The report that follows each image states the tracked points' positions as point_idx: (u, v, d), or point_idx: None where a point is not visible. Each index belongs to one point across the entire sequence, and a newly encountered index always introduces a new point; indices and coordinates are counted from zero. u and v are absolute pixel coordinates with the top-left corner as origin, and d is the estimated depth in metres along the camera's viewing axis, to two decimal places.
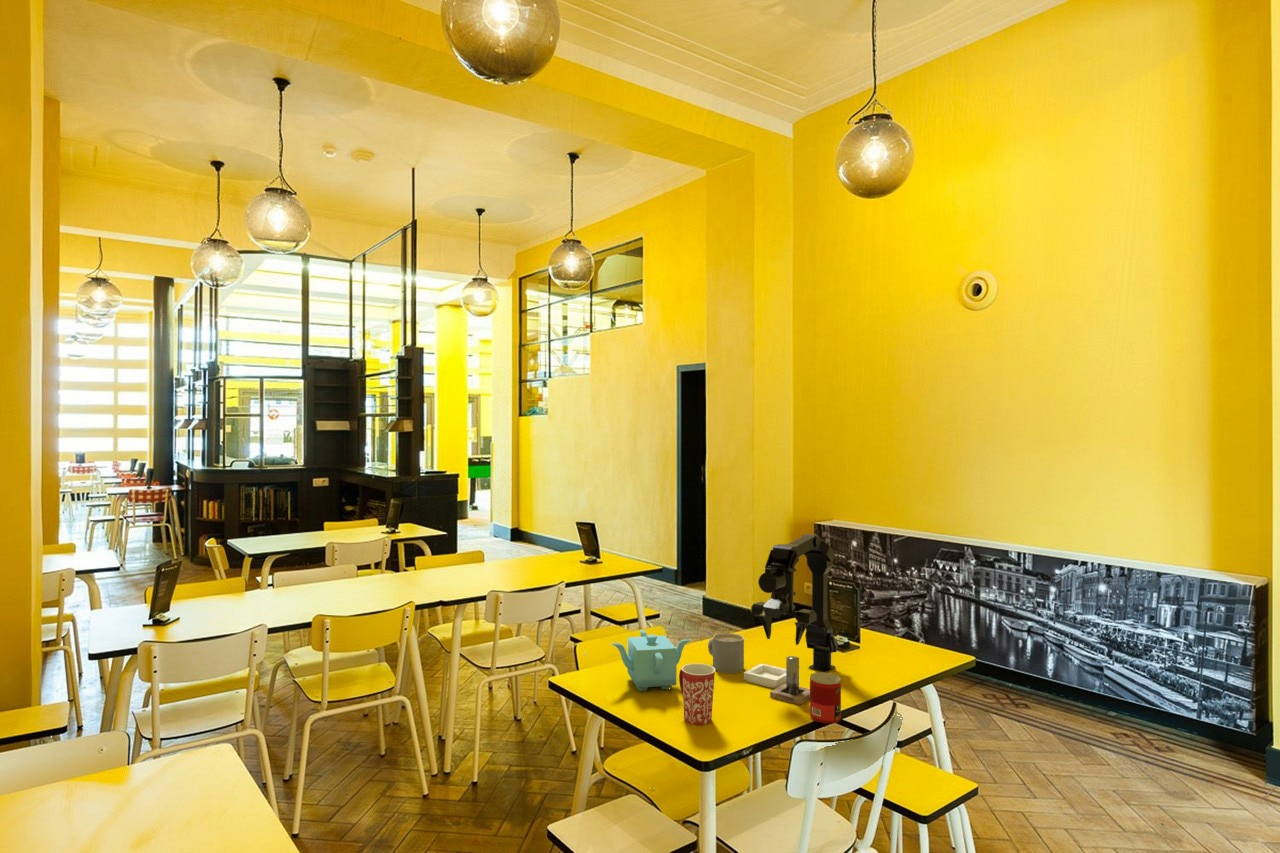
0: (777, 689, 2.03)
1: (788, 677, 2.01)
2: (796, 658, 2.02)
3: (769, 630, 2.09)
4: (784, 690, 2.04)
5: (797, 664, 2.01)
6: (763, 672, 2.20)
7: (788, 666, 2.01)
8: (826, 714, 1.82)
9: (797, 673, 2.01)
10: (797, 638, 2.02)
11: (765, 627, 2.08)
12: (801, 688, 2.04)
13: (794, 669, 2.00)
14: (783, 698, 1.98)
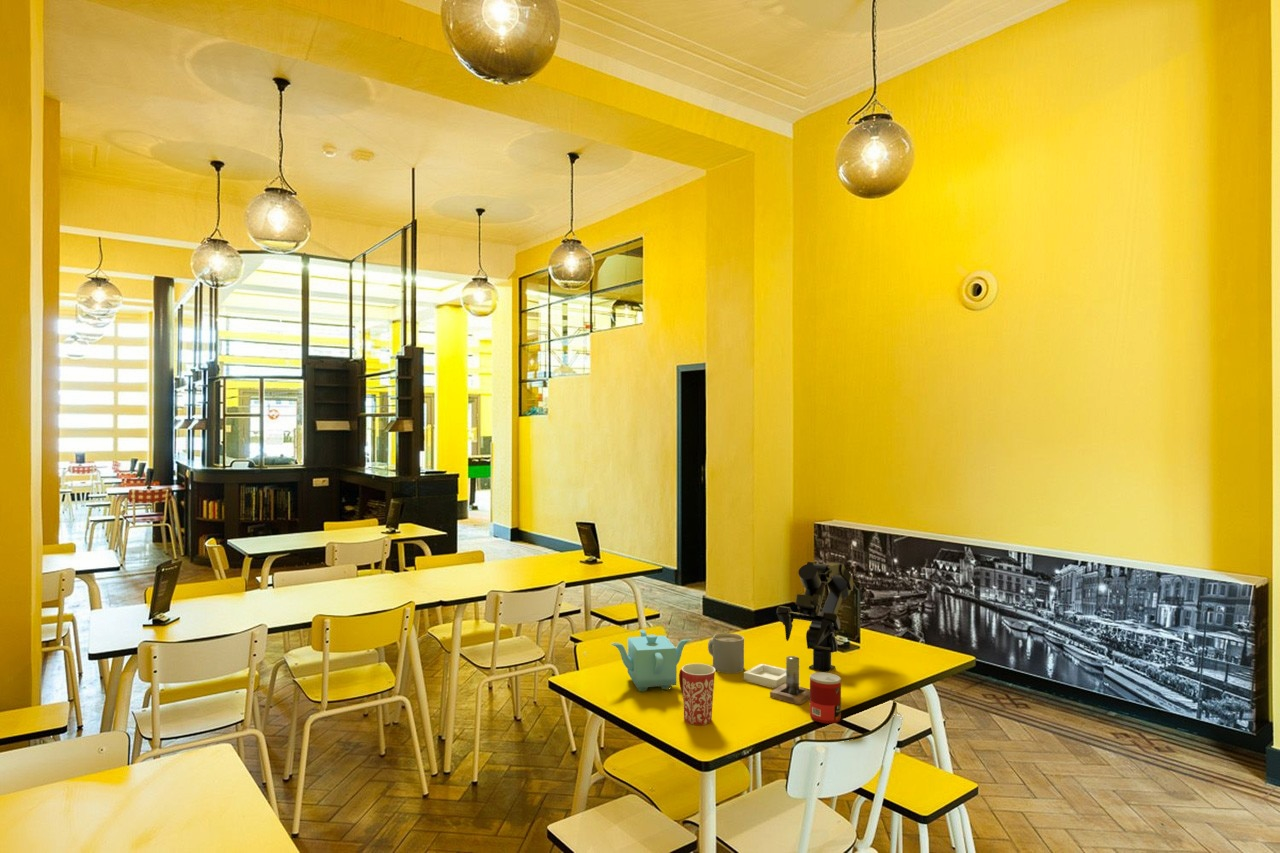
0: (777, 689, 2.03)
1: (788, 677, 2.01)
2: (796, 658, 2.02)
3: (789, 633, 2.13)
4: (784, 690, 2.04)
5: (797, 664, 2.01)
6: (763, 672, 2.20)
7: (788, 666, 2.01)
8: (826, 714, 1.82)
9: (797, 673, 2.01)
10: (819, 637, 2.07)
11: (787, 627, 2.13)
12: (801, 688, 2.04)
13: (794, 669, 2.00)
14: (783, 698, 1.98)
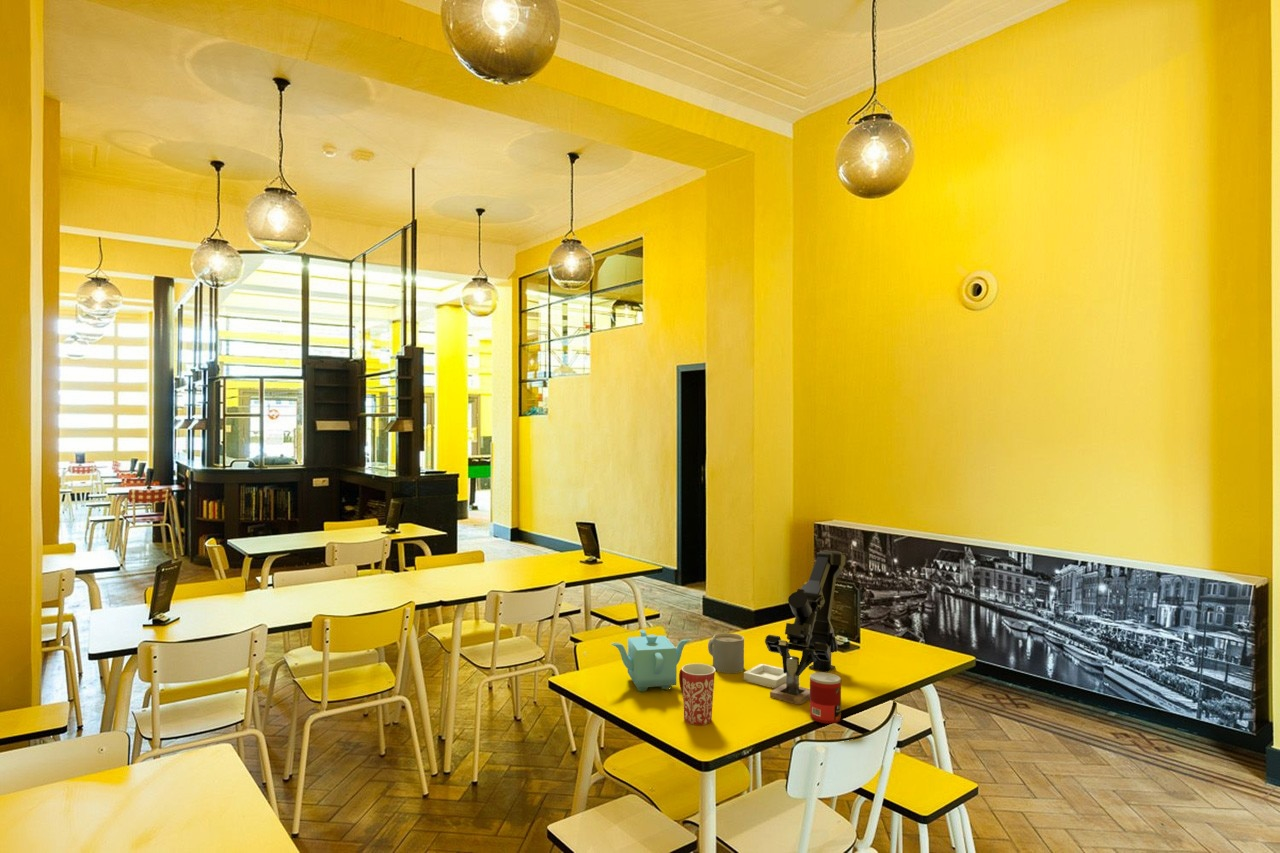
0: (777, 689, 2.03)
1: (788, 677, 2.01)
2: (796, 658, 2.02)
3: None
4: (784, 690, 2.04)
5: (797, 664, 2.01)
6: (763, 672, 2.20)
7: (788, 666, 2.01)
8: (826, 714, 1.82)
9: None
10: (800, 667, 2.00)
11: (784, 659, 2.03)
12: (801, 688, 2.04)
13: (794, 669, 2.00)
14: (783, 698, 1.98)
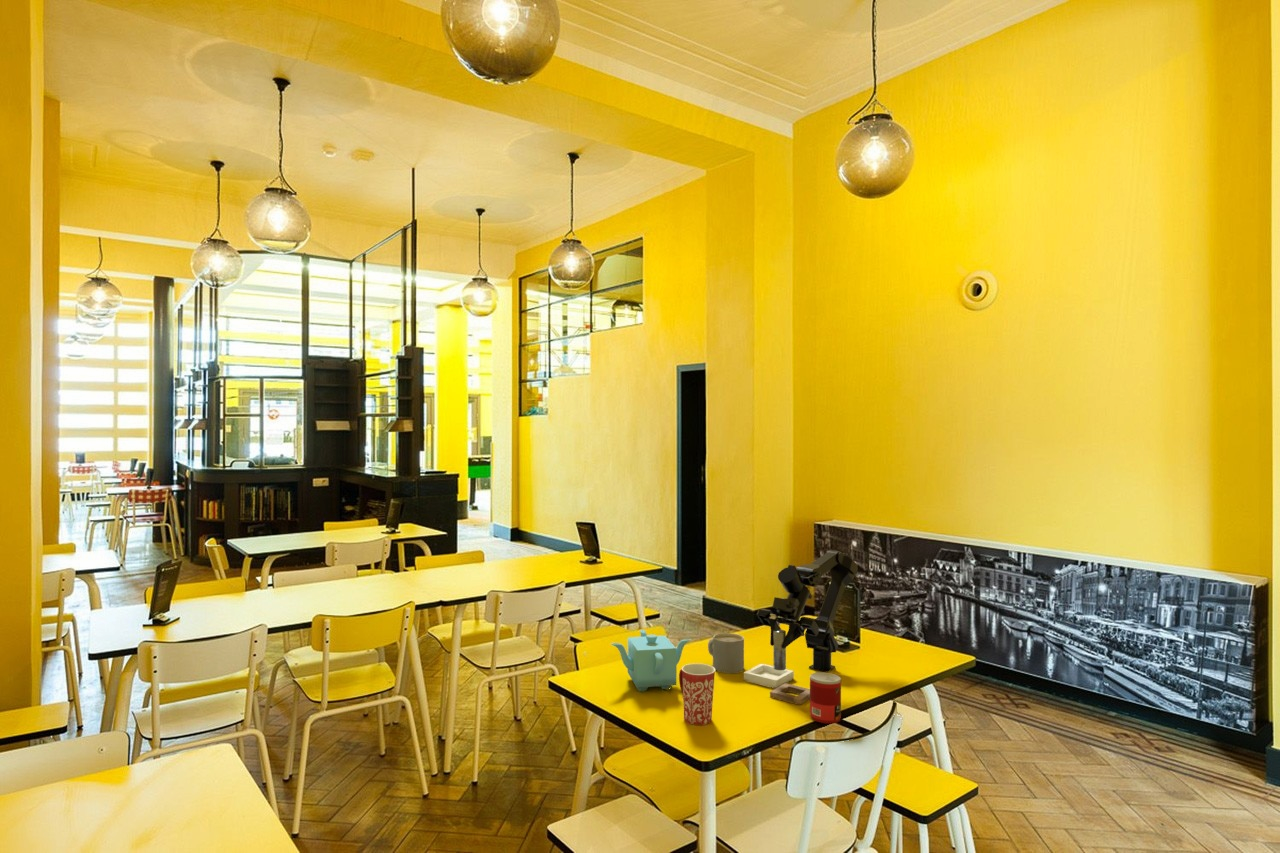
0: (777, 689, 2.03)
1: (774, 649, 2.07)
2: (783, 631, 2.07)
3: None
4: (784, 690, 2.04)
5: (783, 637, 2.06)
6: (763, 672, 2.20)
7: (774, 639, 2.07)
8: (826, 714, 1.82)
9: None
10: (785, 640, 2.06)
11: (772, 632, 2.10)
12: (801, 688, 2.04)
13: (780, 641, 2.06)
14: (783, 698, 1.98)
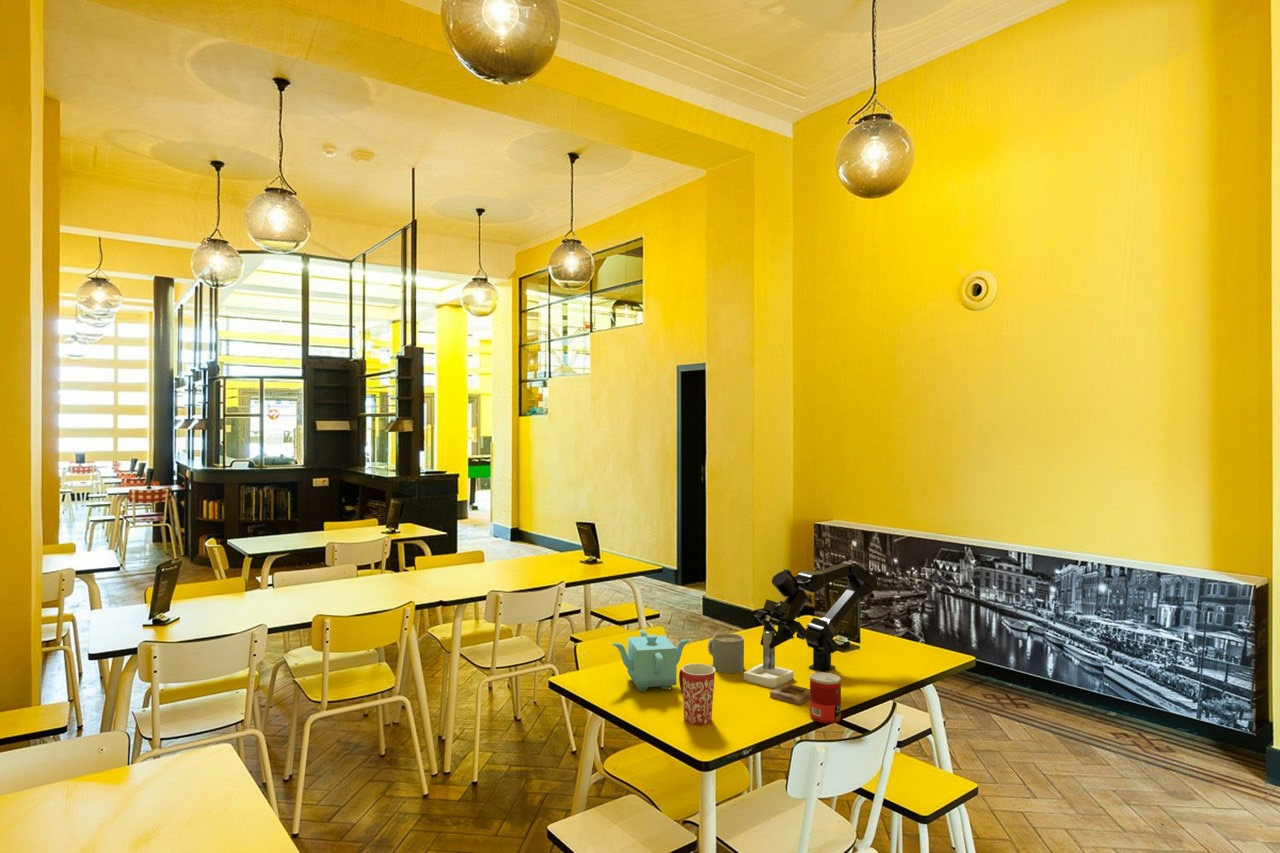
0: (777, 689, 2.03)
1: (763, 649, 2.15)
2: (771, 632, 2.15)
3: None
4: (784, 690, 2.04)
5: (771, 638, 2.14)
6: (763, 672, 2.20)
7: (763, 638, 2.16)
8: (826, 714, 1.82)
9: None
10: (773, 641, 2.13)
11: None
12: (801, 688, 2.04)
13: (767, 642, 2.14)
14: (783, 698, 1.98)
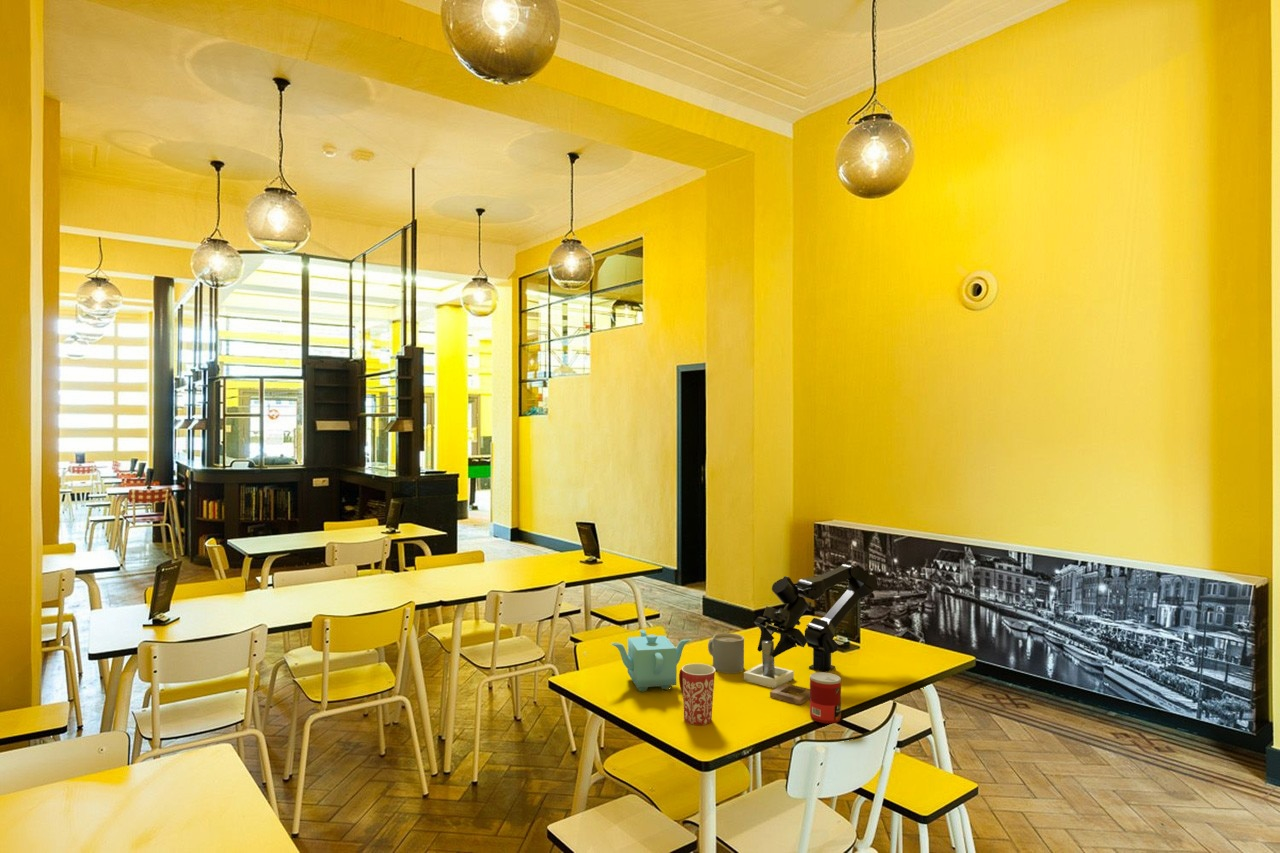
0: (777, 689, 2.03)
1: (762, 659, 2.15)
2: (770, 642, 2.15)
3: None
4: (784, 690, 2.04)
5: (769, 647, 2.14)
6: None
7: (762, 648, 2.15)
8: (826, 714, 1.82)
9: (770, 656, 2.14)
10: (775, 649, 2.12)
11: (761, 638, 2.19)
12: (801, 688, 2.04)
13: (766, 651, 2.14)
14: (783, 698, 1.98)
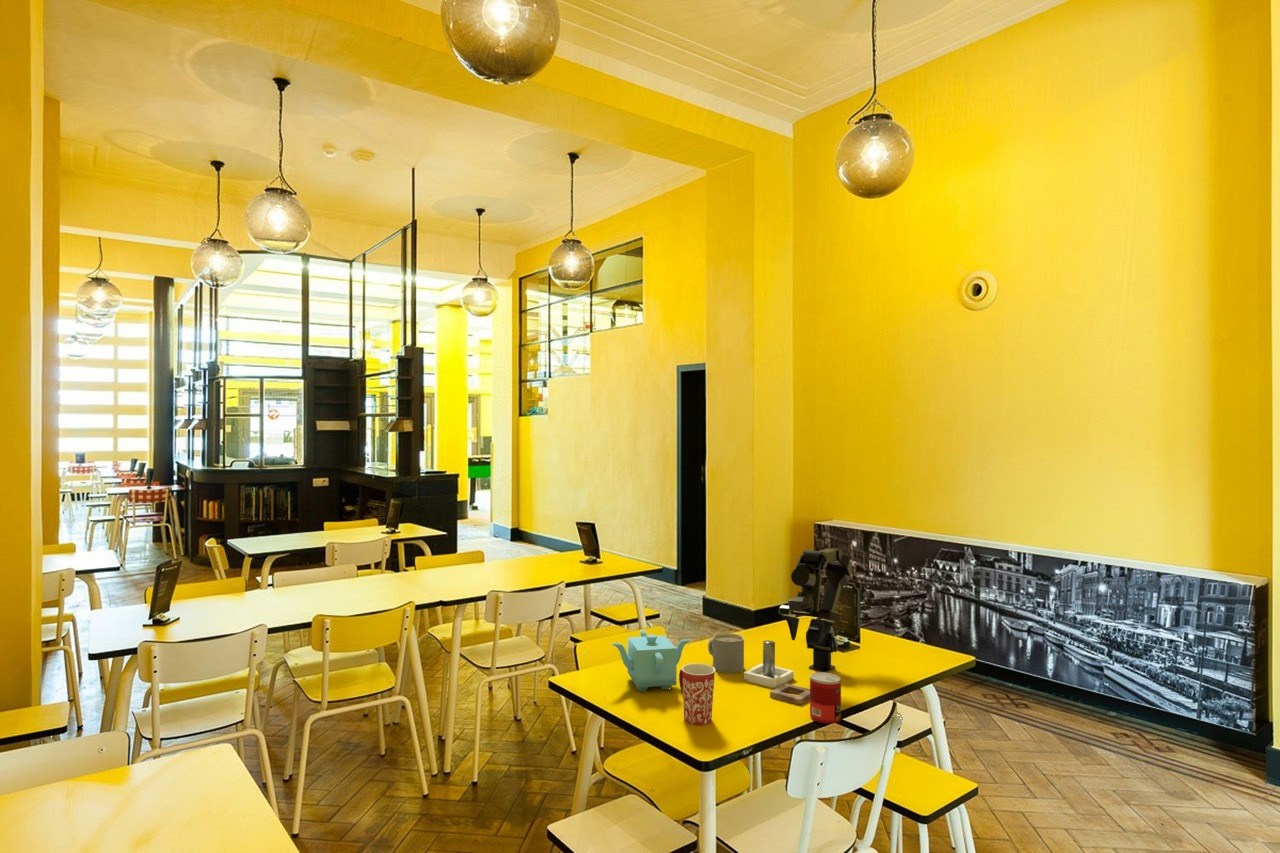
0: (777, 689, 2.03)
1: (763, 659, 2.15)
2: (771, 642, 2.15)
3: (794, 632, 2.18)
4: (784, 690, 2.04)
5: (771, 648, 2.14)
6: None
7: (763, 649, 2.15)
8: (826, 714, 1.82)
9: (771, 656, 2.14)
10: (819, 636, 2.10)
11: (790, 628, 2.18)
12: (801, 688, 2.04)
13: (767, 652, 2.14)
14: (783, 698, 1.98)
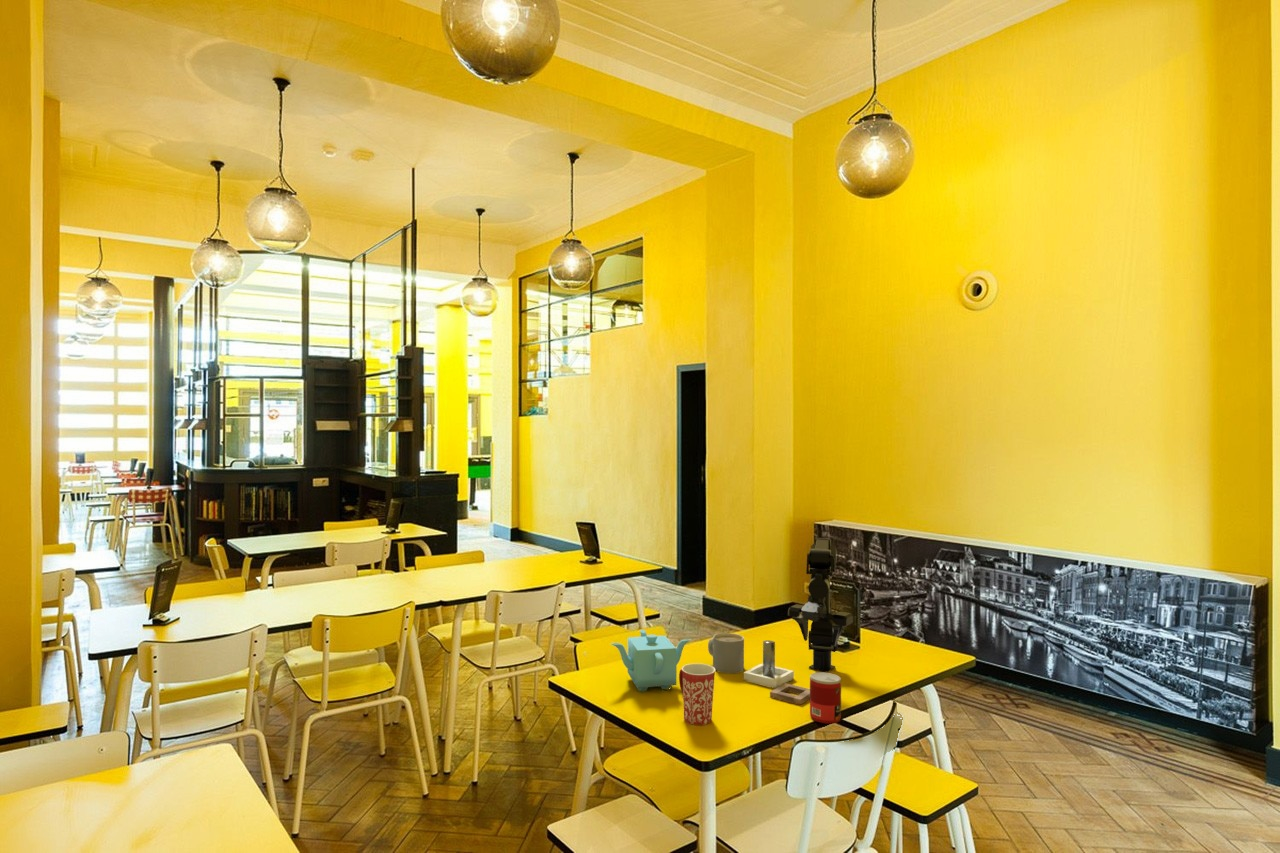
0: (777, 689, 2.03)
1: (763, 659, 2.15)
2: (771, 642, 2.15)
3: (806, 632, 2.15)
4: (784, 690, 2.04)
5: (771, 648, 2.14)
6: None
7: (763, 649, 2.15)
8: (826, 714, 1.82)
9: (771, 656, 2.14)
10: (834, 640, 2.08)
11: (802, 629, 2.14)
12: (801, 688, 2.04)
13: (767, 652, 2.14)
14: (783, 698, 1.98)
